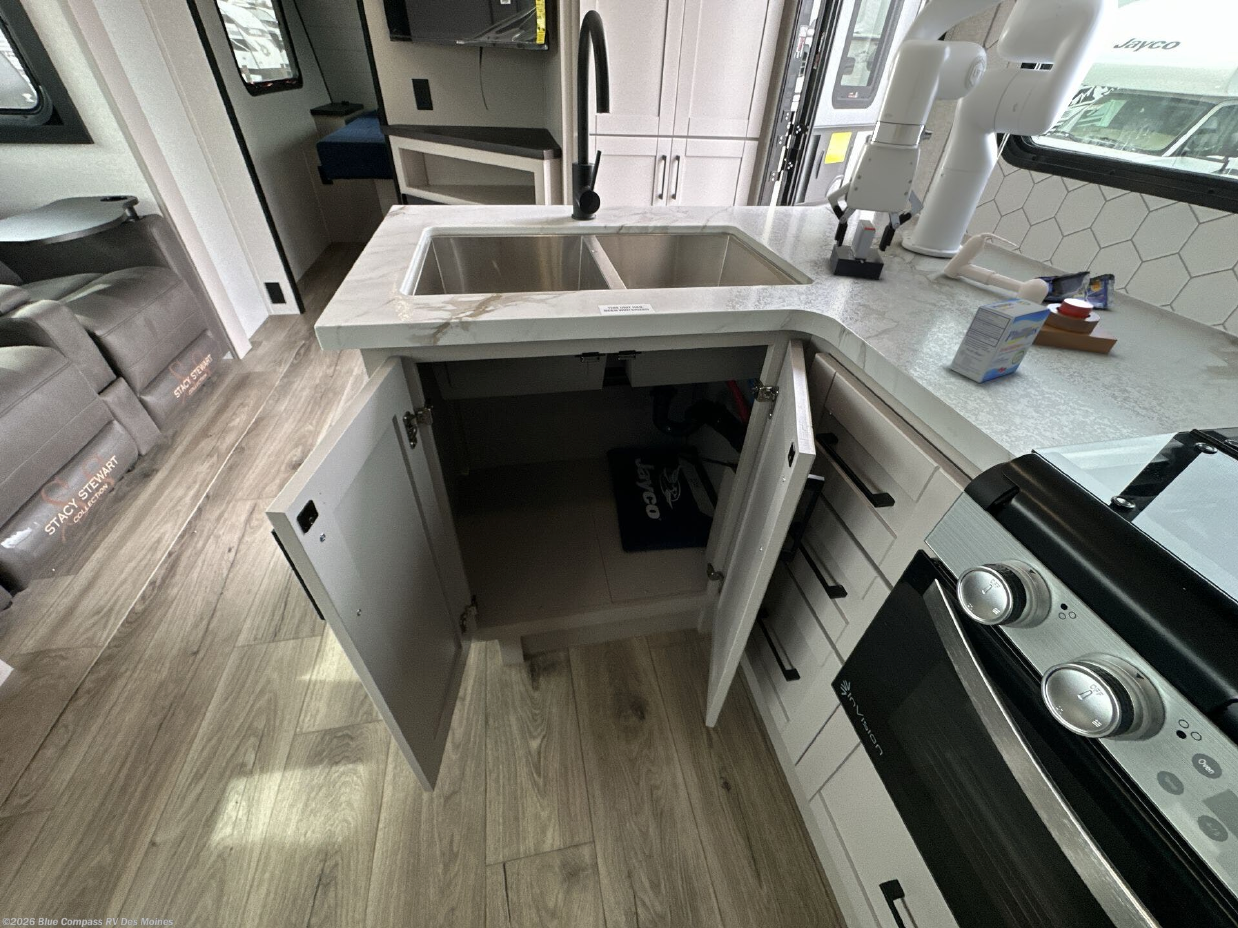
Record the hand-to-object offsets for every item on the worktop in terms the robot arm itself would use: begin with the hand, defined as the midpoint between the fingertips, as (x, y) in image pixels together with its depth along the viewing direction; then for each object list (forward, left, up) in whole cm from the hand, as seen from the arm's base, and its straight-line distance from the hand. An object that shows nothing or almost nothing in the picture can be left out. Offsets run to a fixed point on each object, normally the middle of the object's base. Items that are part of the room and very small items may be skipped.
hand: (860, 246), depth 96 cm
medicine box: (+39, +12, -4) cm, 41 cm away
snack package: (+4, +35, -4) cm, 35 cm away
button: (+23, +27, -1) cm, 35 cm away
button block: (+23, +27, -4) cm, 36 cm away
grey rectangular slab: (0, 0, -1) cm, 1 cm away
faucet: (+3, +23, -4) cm, 24 cm away
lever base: (0, 0, -4) cm, 4 cm away
